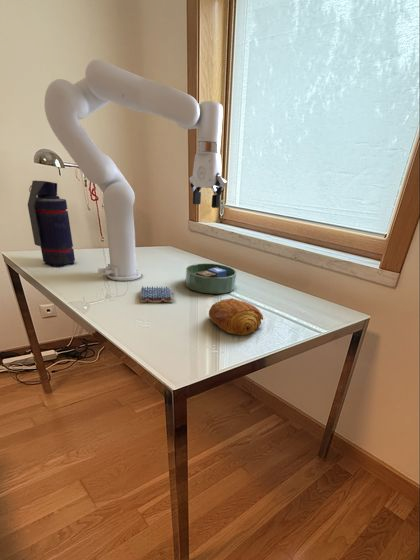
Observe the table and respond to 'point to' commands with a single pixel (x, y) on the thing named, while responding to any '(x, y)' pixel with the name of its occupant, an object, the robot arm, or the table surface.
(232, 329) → the croissant
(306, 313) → the table surface
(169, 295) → the spiked square pad
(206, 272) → the walnut block
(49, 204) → the grenade
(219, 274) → the periwinkle blue block
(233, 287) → the faceted green bowl
